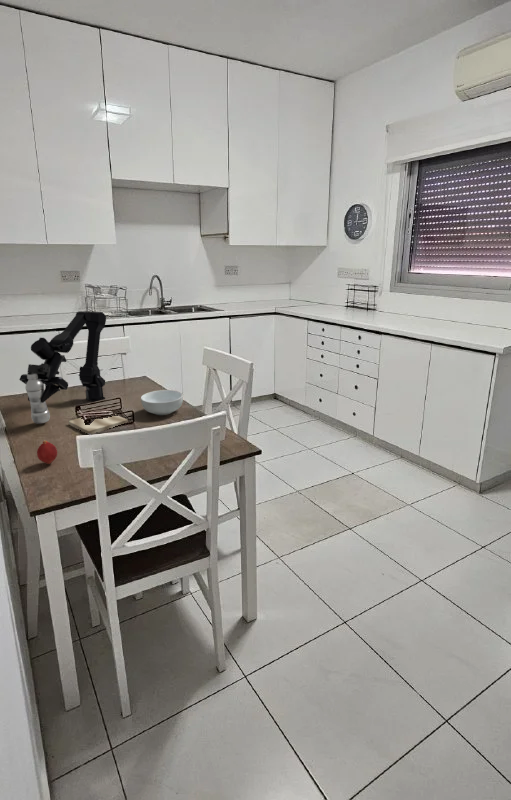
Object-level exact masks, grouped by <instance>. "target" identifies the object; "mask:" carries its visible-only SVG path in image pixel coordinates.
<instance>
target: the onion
mask: <svg viewBox="0 0 511 800" xmlns="http://www.w3.org/2000/svg"><path fill="white" fill-rule="evenodd" d="M36 454H37V455H36V456H37V459H38V460H39V461H41V462H42V463H44V464H47V465H51V464H52V462H54V461H55V460H56V459H57V456H58V449H57V447H56V445H55V444H53V443H51V442H49V441H47V440H43V441H42V443H41V444H40V445H39V446H38V448H37V451H36Z"/></svg>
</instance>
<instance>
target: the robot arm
mask: <svg viewBox="0 0 511 800" xmlns="http://www.w3.org/2000/svg"><path fill="white" fill-rule="evenodd" d="M106 322H107V316H106V315H105V313H104V312H103V311H85V310H84V311H81V310H80V311H79V310H78V311H77V312H76V313H75V316H74V317H73V318H72V319H71V321H70V322H69V324H68V325H67V326H66V327H65V329H63V331H62V332H60V333H58V334H56V335H55V336H53V337H52V338H51V340H50V341H48V340H47V339H46V338H45V337H39V339H38V340H35V341H34V342H33V343H32V344H31V346H30V350H31V352H32V353H34V354H35V355H36V356H37V357H38V358H39V359H40V360H42V361H43V360H44V362H42V363H41V364H32V363H31V364H30V363H29V364H28V367H27V373H30V372H33V373H38V376H39V377H38V379H39V380H40V381H41V382H42V383H43V384H44V393H43V395H42V398H41V402H42V403H43V402H44V401H45V402H46V401H47V400H48V399H49V398H51V397H52V396H53V395H55V394H56V393H57V392H60V391H61V390H64V391H66V390H68V387H69V382H67V381H66V379H64V378H63V377H61V376H58V375H60V371H59V369H60V367H61V365H62V363H67V358H66V356H65V355H64V353H65V354H68V353H69V352H70V351H71V350H72V348H73V347H74V340H75V338H76V336H77V335H78V334H79V333H80V331H81V330H82V329H83V327H84V326H86V328H87V329H86V330H87V331H88V333H87V344H86V354H85V362H84V365H83V366H80V367H79V374H78V377H79V381H80V383H81V385H82V387H85V391H84V392H85V399H86V400H88V401H90V402H96V401H101V400H105V399H106V396H104V389H103V387H104V386H105V385H106V380H105V378H103V376H101V370H100V368H99V365H98V360H99V349H100V340H101V332H102V331H103V330H104V328H105V327H106ZM61 353H63V354H61ZM27 373H24V374H21V375H20V377H19V379H18V380H19V381H20V382H21V383H23V384H25V385H26V384H27V382H28V380H29V379H27ZM27 401H28V402H30V400H29V397H28V396H27Z"/></svg>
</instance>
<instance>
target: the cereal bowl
mask: <svg viewBox="0 0 511 800" xmlns="http://www.w3.org/2000/svg"><path fill="white" fill-rule="evenodd" d="M183 399H184V396H183V393H182V392H180V391H178V390H173V389H162V390H159V389H158V390H154V391H150V392H147V393H144V394H142V395H141V397H140V402H141V406H142V408H143V409H144V410H145V411H146V412H148V413H150V414H154V415H155V416H166V415H171V414H172V413H173V412H176V411H178V409H180V408H181V406H182V405H183V401H184V400H183Z"/></svg>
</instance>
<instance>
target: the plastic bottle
mask: <svg viewBox="0 0 511 800" xmlns="http://www.w3.org/2000/svg"><path fill="white" fill-rule="evenodd" d="M26 374H27V379H29V380H28V382H27V384H25V391H26V394H27V398H28V397H29V400H30V401H29V403H30V413H31V420H32V422H33V423H35V424H36V425H37V424H38V425H39V424H45V423H47V422H49V420H50V419H51V413H50V411H49V409H48V405H47V402H46V401H44V402H43V403H42V402H41V398H42V395H43V393H44V390H45V384H43V383H42V382H41V381H40V380H39V379H38V377H39V376H38V373H33V372H30V373H26Z"/></svg>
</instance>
